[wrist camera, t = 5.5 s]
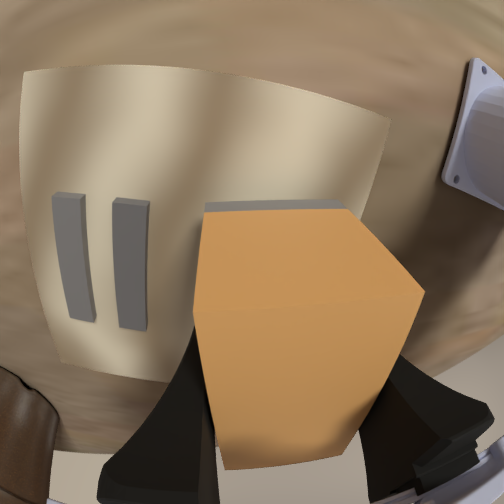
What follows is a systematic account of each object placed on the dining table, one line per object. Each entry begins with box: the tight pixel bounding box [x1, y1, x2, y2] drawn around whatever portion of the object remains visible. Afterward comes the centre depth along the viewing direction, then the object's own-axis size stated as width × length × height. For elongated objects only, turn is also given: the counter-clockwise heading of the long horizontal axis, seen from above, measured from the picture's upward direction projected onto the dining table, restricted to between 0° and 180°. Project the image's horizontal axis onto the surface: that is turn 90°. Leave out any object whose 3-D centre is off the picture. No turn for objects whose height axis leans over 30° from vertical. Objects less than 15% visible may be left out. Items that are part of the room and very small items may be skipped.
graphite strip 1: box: [51, 192, 97, 323], centre depth 12 cm, size 2×7×1 cm, turn 169°
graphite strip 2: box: [112, 197, 150, 332], centre depth 13 cm, size 2×7×1 cm, turn 168°
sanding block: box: [193, 199, 425, 470], centre depth 10 cm, size 5×9×6 cm, turn 0°
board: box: [19, 65, 392, 383], centre depth 14 cm, size 16×18×2 cm
